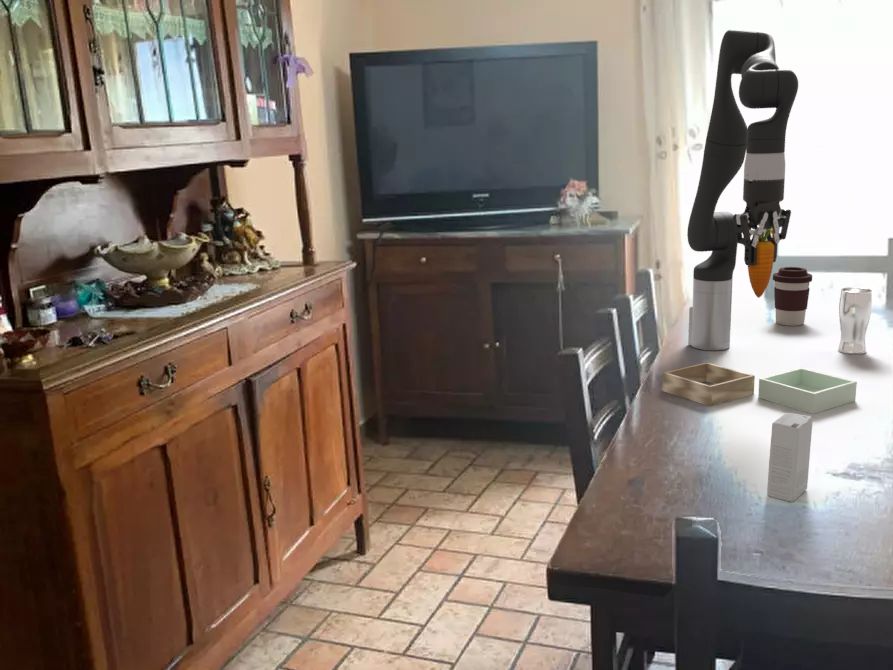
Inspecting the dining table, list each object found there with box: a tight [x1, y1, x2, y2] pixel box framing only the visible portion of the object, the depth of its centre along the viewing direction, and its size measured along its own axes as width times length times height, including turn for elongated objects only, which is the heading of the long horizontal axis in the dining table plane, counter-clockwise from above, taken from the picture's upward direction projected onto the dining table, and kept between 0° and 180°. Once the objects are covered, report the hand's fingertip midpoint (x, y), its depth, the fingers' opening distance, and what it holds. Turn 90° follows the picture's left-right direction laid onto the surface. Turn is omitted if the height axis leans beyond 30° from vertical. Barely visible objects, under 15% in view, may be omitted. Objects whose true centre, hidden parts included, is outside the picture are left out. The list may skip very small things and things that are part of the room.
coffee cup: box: [772, 266, 813, 327], centre depth 245 cm, size 10×10×15 cm
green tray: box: [757, 367, 858, 415], centre depth 182 cm, size 13×13×4 cm
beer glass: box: [837, 286, 873, 355], centre depth 215 cm, size 7×7×15 cm
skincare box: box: [766, 412, 814, 503], centre depth 138 cm, size 6×4×12 cm
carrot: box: [747, 226, 774, 299], centre depth 179 cm, size 5×5×15 cm
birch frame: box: [662, 362, 756, 407], centre depth 189 cm, size 13×13×4 cm
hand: (760, 263), depth 179 cm, fingers closed on carrot, 5 cm apart
